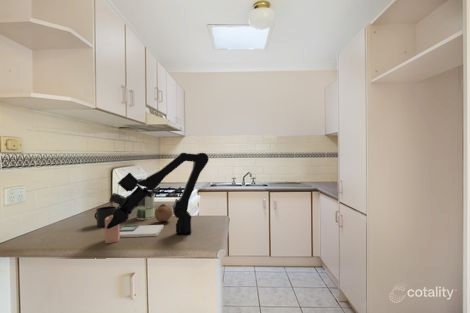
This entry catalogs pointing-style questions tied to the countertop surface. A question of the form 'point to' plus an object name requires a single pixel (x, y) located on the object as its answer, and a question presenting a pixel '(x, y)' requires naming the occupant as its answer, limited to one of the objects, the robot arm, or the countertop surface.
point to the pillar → (111, 231)
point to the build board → (140, 230)
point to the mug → (103, 214)
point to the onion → (163, 213)
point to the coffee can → (146, 208)
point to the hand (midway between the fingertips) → (109, 225)
